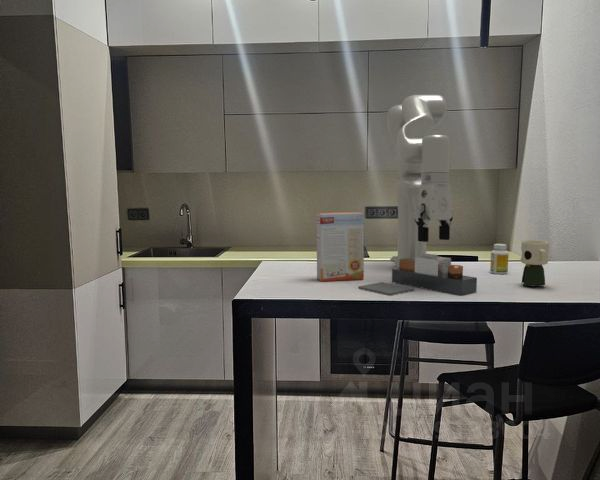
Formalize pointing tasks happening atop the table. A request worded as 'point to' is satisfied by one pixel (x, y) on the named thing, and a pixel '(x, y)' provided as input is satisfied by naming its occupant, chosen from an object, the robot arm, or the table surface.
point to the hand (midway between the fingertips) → (433, 240)
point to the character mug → (534, 261)
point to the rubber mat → (386, 288)
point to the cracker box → (340, 246)
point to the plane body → (435, 278)
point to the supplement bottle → (499, 259)
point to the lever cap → (432, 265)
